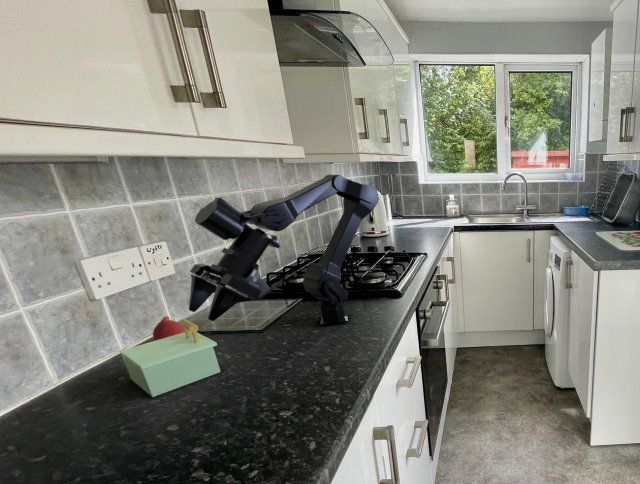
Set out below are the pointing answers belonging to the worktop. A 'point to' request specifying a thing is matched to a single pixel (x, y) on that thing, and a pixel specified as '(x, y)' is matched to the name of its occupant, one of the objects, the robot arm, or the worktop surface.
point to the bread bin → (174, 372)
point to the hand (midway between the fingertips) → (200, 315)
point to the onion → (167, 329)
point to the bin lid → (169, 347)
